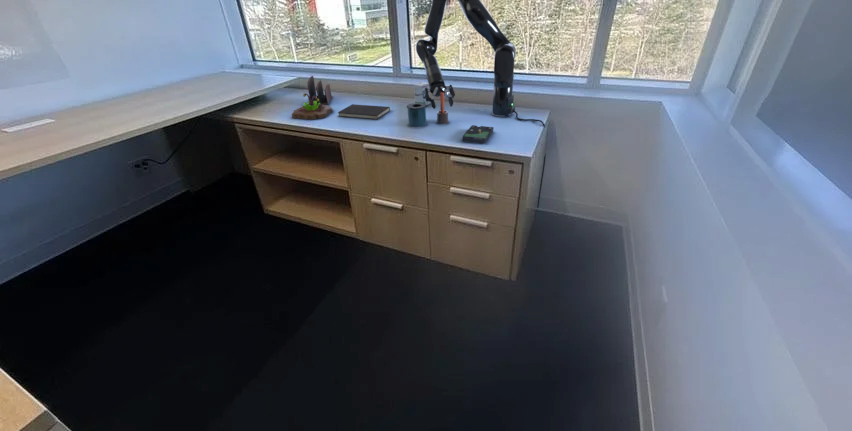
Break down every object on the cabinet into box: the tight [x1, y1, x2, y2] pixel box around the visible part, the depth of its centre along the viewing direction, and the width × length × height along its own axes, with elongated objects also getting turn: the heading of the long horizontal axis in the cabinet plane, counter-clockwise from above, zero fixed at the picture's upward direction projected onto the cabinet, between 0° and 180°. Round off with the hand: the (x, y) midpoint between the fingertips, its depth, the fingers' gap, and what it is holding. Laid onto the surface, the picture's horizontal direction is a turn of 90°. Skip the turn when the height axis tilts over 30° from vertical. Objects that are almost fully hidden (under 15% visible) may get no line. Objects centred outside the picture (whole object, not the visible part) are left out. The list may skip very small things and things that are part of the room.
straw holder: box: [436, 109, 449, 125], centre depth 183 cm, size 5×5×6 cm
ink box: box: [413, 81, 431, 106], centre depth 209 cm, size 9×5×12 cm, turn 147°
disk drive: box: [461, 124, 495, 144], centre depth 166 cm, size 10×3×15 cm
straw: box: [439, 93, 445, 113], centre depth 181 cm, size 2×2×14 cm
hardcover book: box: [337, 103, 391, 121], centre depth 203 cm, size 16×23×2 cm
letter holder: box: [307, 75, 333, 106], centre depth 224 cm, size 10×20×14 cm, turn 6°
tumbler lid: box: [406, 102, 427, 109], centre depth 179 cm, size 9×9×1 cm
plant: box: [291, 93, 333, 121], centre depth 203 cm, size 20×20×11 cm
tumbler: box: [407, 105, 427, 128], centre depth 182 cm, size 9×9×9 cm
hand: (443, 106), depth 180 cm, fingers open, 8 cm apart
